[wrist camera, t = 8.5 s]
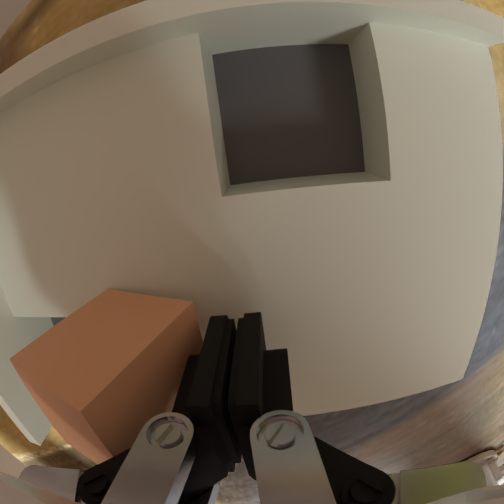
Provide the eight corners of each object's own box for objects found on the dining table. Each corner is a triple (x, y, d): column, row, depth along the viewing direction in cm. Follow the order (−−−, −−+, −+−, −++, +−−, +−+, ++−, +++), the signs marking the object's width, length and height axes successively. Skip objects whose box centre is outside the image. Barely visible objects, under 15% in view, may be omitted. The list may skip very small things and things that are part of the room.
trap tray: (446, 39, 9) (536, 7, 3) (441, 347, 15) (489, 423, 9) (-6, 122, 11) (-92, 134, 5) (72, 374, 17) (29, 441, 11)
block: (193, 301, 9) (80, 411, 5) (215, 390, 11) (144, 492, 6) (108, 288, 11) (9, 358, 6) (137, 367, 12) (64, 440, 8)
